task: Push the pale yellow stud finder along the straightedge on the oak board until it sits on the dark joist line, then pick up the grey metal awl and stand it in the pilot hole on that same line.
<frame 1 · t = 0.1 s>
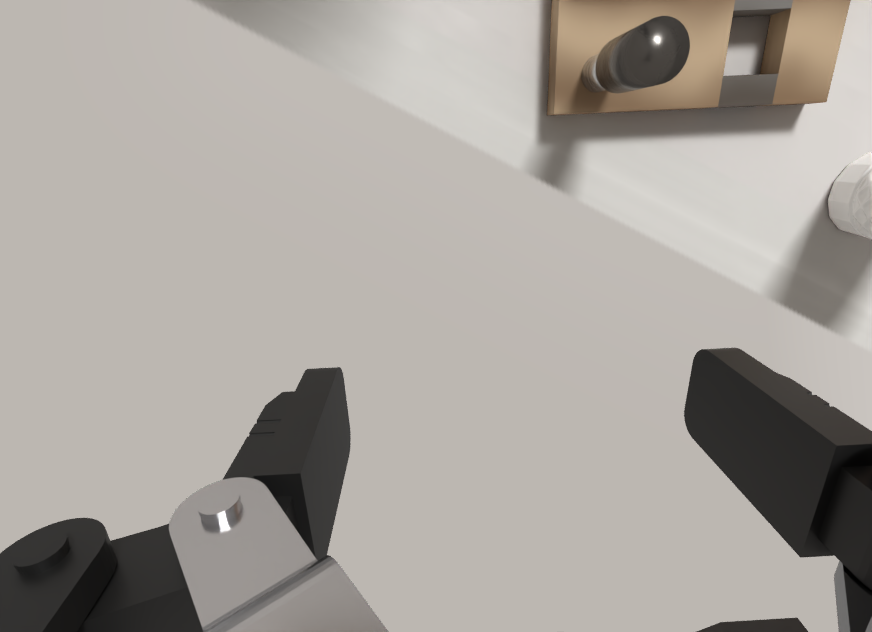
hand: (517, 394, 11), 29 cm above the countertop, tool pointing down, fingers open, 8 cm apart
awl: (598, 73, 33), point 2 cm above the countertop, touching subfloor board
white cup: (865, 192, 39), on the countertop
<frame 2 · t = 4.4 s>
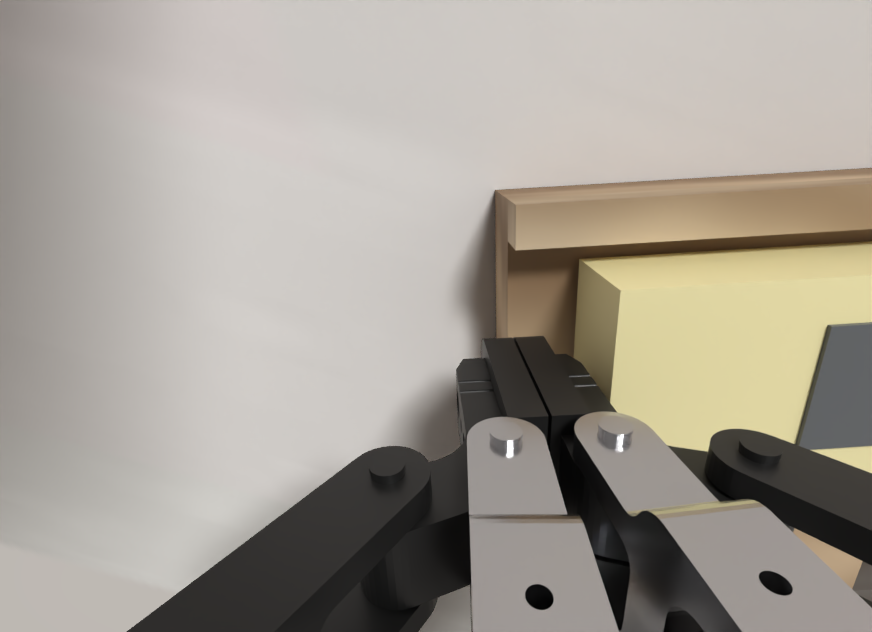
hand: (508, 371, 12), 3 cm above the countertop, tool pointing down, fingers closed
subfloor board: (789, 414, 16), on the countertop
stud finder: (758, 364, 11), point 3 cm above the countertop, slide at 0.2 cm, touching gripper
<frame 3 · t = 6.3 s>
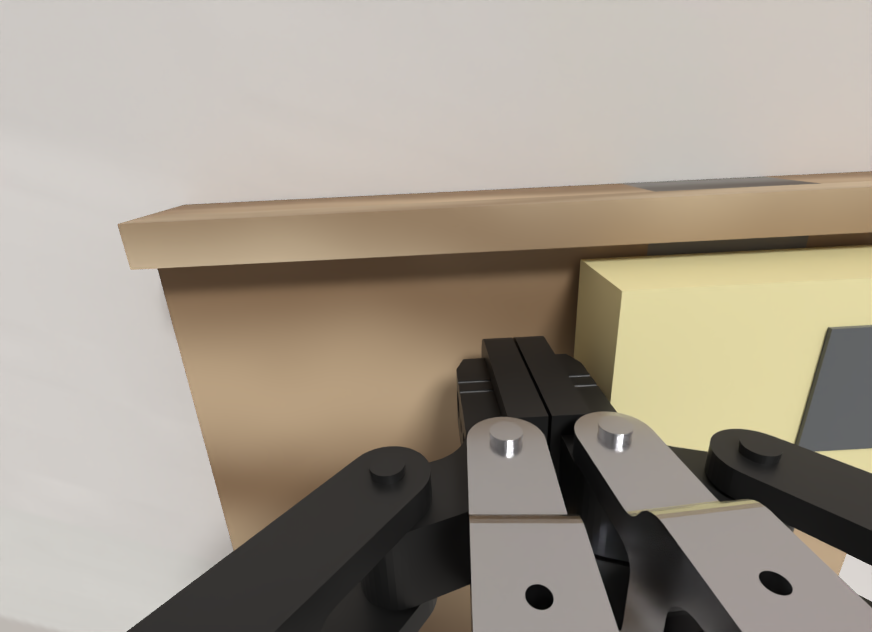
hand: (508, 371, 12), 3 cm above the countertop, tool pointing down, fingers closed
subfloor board: (538, 430, 16), on the countertop
stud finder: (757, 366, 11), point 4 cm above the countertop, slide at 8.8 cm, touching gripper
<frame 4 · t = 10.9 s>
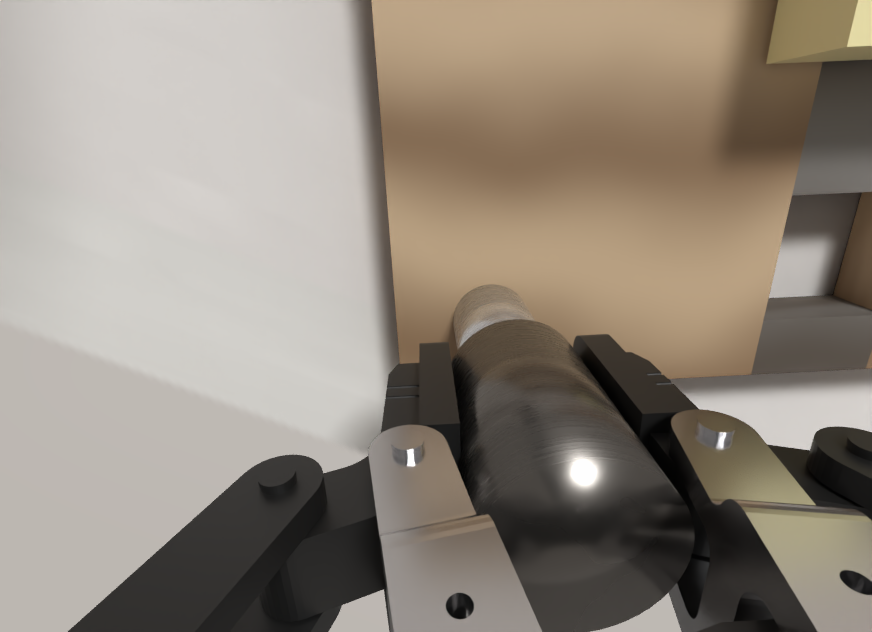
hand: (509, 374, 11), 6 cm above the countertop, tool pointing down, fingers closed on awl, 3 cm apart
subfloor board: (698, 127, 15), on the countertop
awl: (490, 320, 15), point 2 cm above the countertop, touching gripper, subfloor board
when the fingers open (4 cm above the countertop, at t = 15.2 s): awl stays where it is, resting in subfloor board.
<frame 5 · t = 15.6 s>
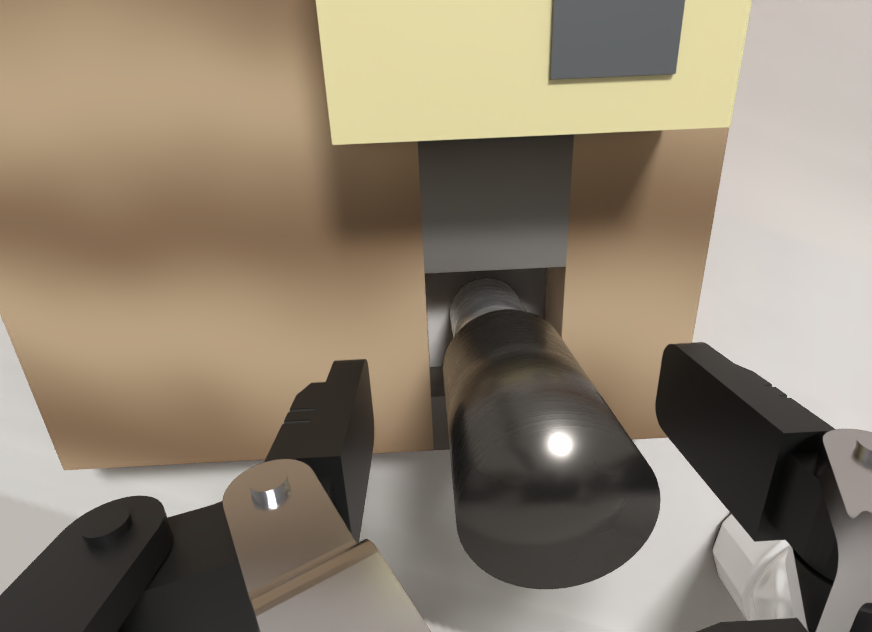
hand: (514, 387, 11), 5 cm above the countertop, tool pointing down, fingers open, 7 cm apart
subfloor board: (355, 195, 14), on the countertop
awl: (485, 312, 16), resting in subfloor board
white cup: (786, 532, 20), on the countertop
stud finder: (523, 5, 9), point 4 cm above the countertop, slide at 8.8 cm
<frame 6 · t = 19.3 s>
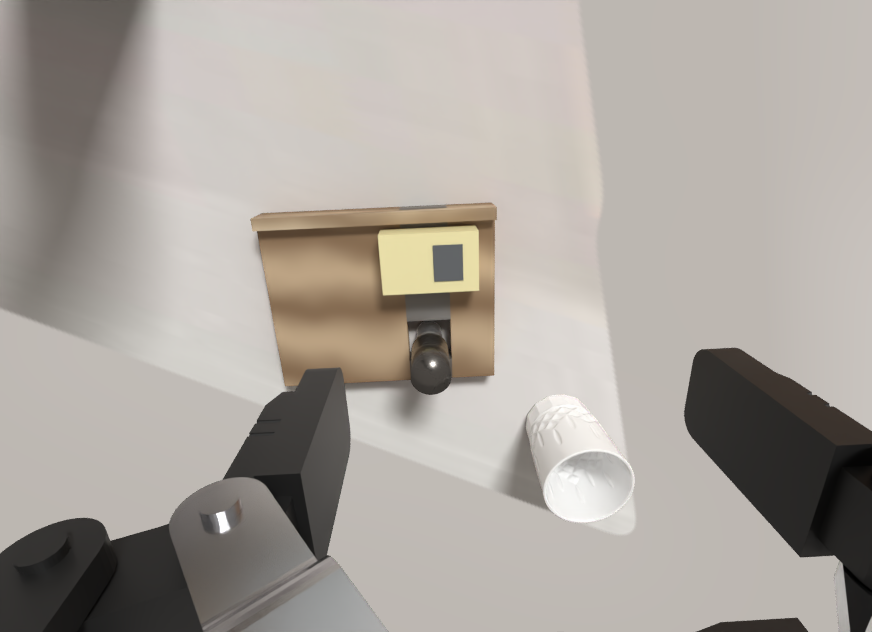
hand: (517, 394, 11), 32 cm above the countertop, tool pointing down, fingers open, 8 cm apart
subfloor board: (384, 294, 43), on the countertop
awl: (429, 332, 45), resting in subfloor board
white cup: (556, 420, 49), on the countertop
stud finder: (429, 260, 39), point 3 cm above the countertop, slide at 8.8 cm
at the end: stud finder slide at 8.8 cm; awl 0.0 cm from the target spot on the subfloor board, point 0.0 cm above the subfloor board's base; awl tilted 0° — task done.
